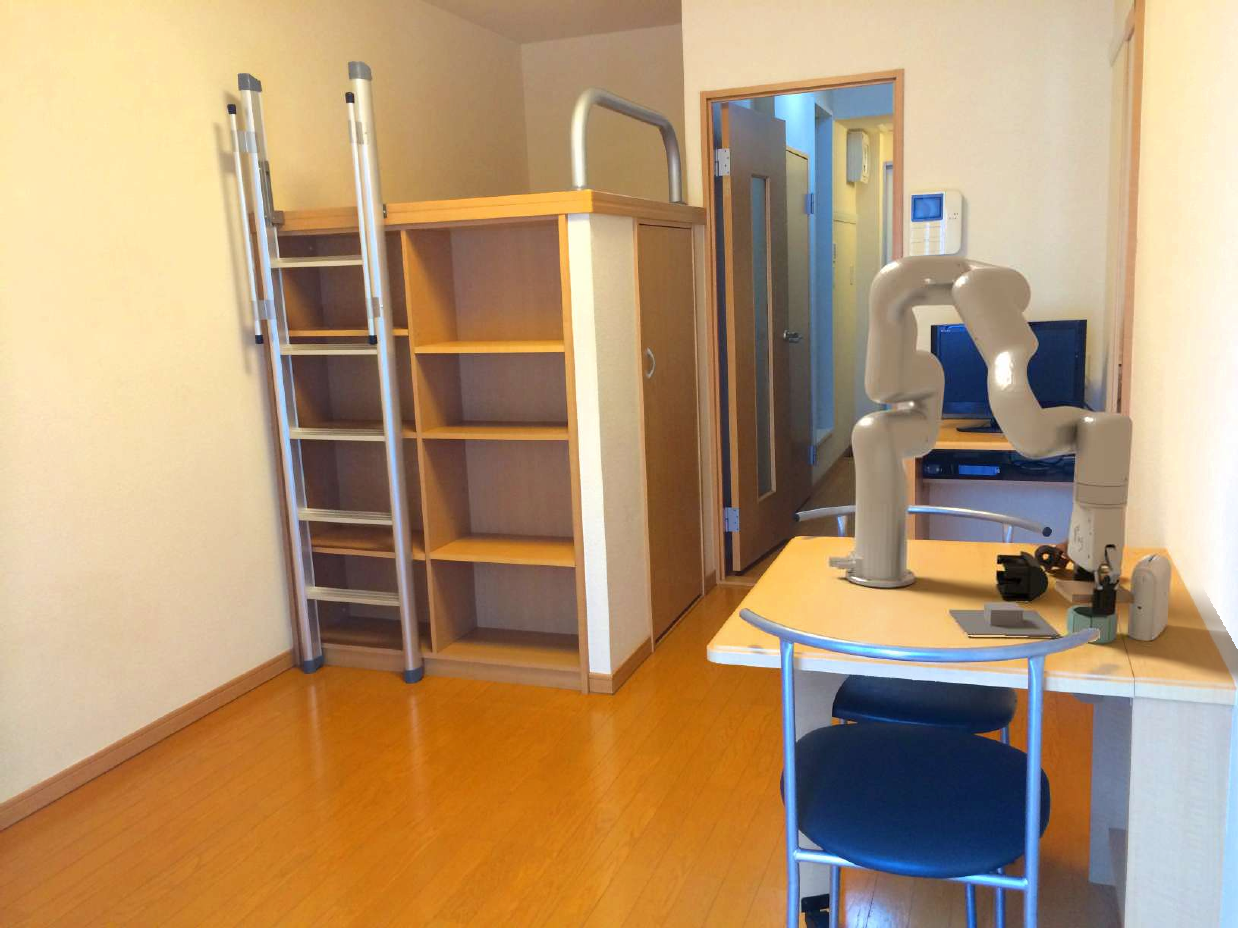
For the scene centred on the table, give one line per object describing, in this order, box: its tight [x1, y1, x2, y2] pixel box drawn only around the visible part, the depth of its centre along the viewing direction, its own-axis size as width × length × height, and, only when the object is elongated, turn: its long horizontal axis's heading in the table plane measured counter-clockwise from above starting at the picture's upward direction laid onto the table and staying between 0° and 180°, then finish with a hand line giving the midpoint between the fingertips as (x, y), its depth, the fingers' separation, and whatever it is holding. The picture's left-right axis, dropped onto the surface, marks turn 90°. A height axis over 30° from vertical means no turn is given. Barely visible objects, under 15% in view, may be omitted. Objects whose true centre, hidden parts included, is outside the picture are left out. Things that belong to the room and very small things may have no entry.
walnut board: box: [1054, 580, 1134, 605], centre depth 157 cm, size 9×7×1 cm
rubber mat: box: [948, 601, 1061, 639], centre depth 164 cm, size 14×12×3 cm
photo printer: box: [1127, 553, 1172, 642], centre depth 159 cm, size 10×4×12 cm, turn 140°
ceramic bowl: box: [1066, 604, 1119, 645], centre depth 158 cm, size 7×7×4 cm
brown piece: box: [1033, 537, 1103, 574], centre depth 190 cm, size 12×10×8 cm
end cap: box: [995, 550, 1050, 603], centre depth 179 cm, size 10×7×7 cm
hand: (1092, 605), depth 157 cm, fingers closed on walnut board, 7 cm apart
